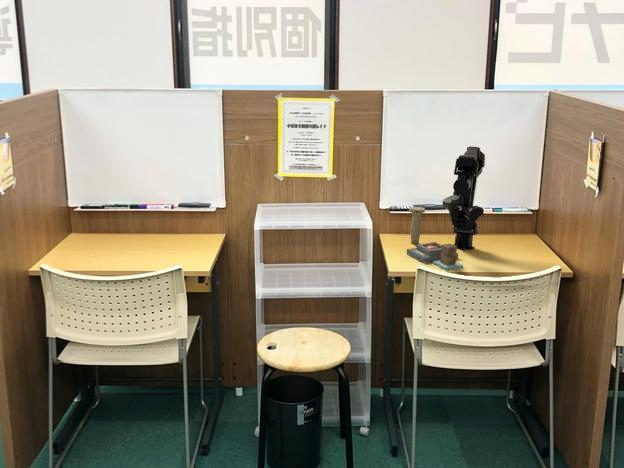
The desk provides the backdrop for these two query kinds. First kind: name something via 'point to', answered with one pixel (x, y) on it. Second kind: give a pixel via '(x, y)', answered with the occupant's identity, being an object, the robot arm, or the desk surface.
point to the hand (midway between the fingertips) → (460, 227)
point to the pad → (447, 267)
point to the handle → (416, 223)
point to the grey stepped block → (426, 252)
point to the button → (432, 247)
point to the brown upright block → (448, 254)
